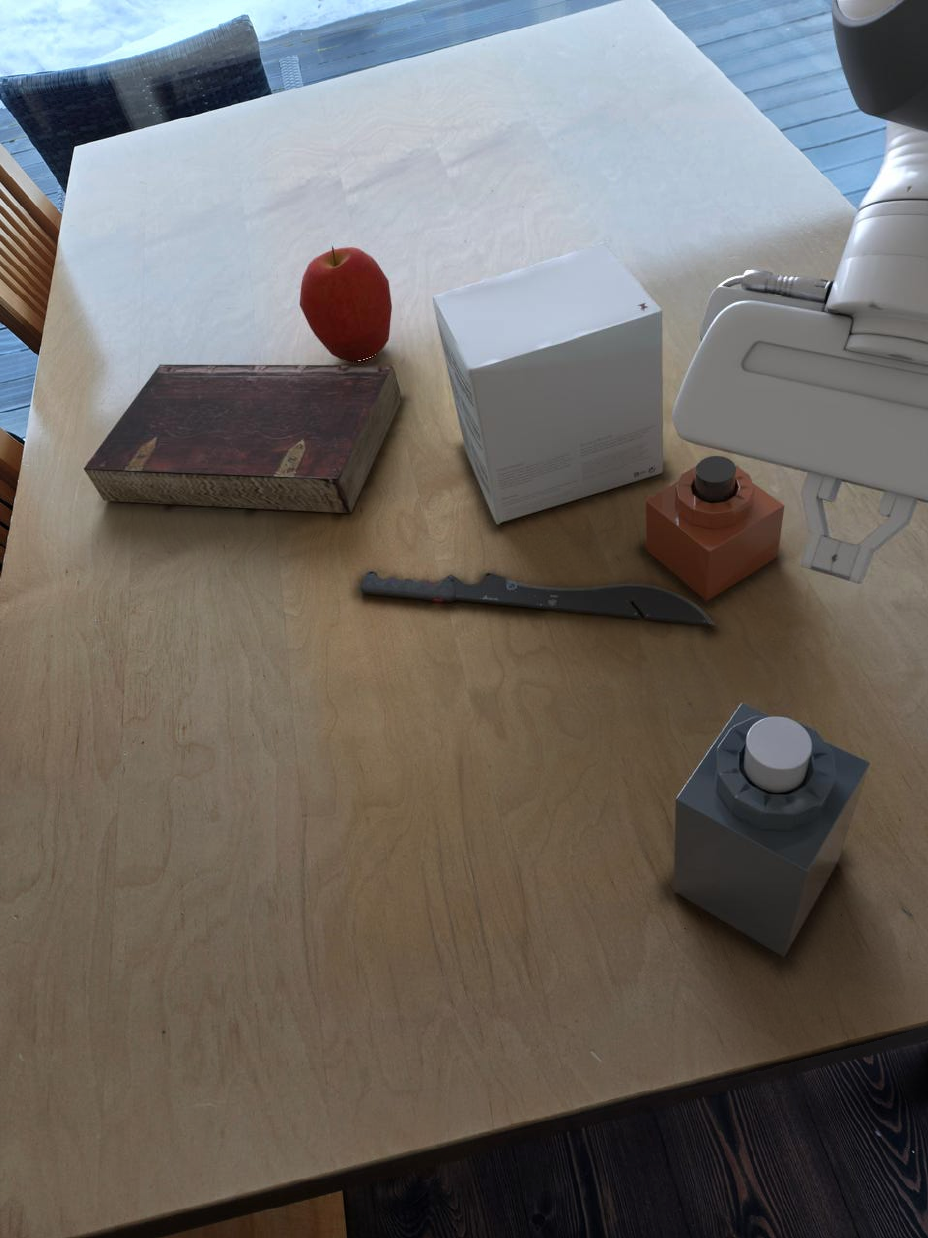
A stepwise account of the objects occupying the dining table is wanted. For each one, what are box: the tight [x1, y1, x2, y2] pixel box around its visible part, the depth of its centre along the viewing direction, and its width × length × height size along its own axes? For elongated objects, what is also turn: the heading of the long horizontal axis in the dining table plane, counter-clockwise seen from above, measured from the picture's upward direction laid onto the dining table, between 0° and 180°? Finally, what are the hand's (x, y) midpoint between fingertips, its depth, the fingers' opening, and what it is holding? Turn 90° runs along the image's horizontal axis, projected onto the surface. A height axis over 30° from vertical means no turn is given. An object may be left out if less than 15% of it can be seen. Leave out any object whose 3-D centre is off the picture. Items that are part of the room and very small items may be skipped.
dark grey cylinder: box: [694, 455, 737, 503], centre depth 76 cm, size 3×3×2 cm
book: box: [83, 364, 402, 514], centre depth 101 cm, size 29×19×5 cm, turn 77°
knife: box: [359, 570, 716, 627], centre depth 82 cm, size 32×4×1 cm, turn 75°
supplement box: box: [432, 241, 664, 525], centre depth 87 cm, size 17×13×18 cm
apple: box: [299, 245, 393, 364], centre depth 106 cm, size 10×10×14 cm
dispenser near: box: [673, 701, 871, 958], centre depth 58 cm, size 8×8×15 cm
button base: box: [645, 464, 785, 602], centre depth 80 cm, size 8×8×8 cm
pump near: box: [744, 716, 812, 793], centre depth 51 cm, size 3×3×3 cm
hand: (831, 575), depth 47 cm, fingers closed
